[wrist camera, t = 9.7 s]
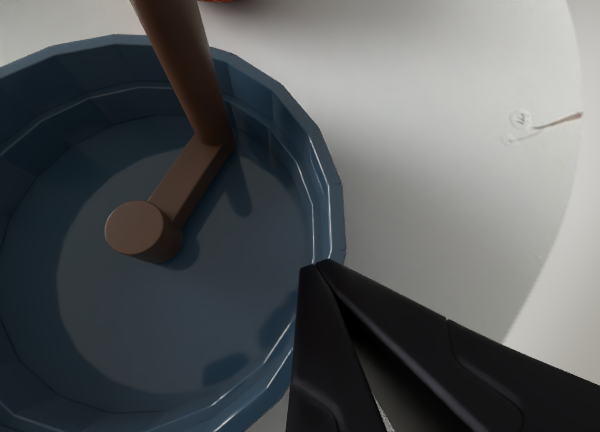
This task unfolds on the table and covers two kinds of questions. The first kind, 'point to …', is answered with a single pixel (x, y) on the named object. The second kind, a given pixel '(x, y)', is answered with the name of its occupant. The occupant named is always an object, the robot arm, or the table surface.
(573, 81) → the table surface
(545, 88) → the table surface
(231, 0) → the fruit
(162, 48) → the crank handle
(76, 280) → the bowl
